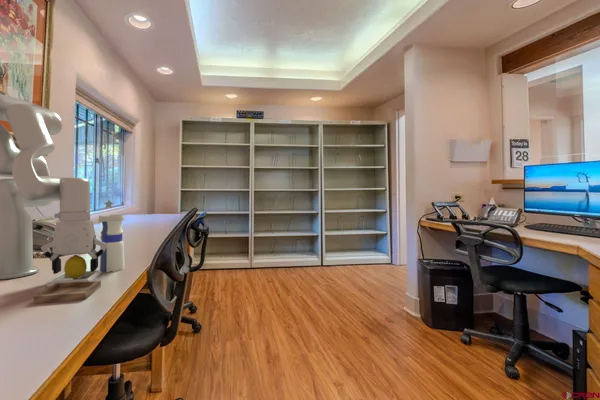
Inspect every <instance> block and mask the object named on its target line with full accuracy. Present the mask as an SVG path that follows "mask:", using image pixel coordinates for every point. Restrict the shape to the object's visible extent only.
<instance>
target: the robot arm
mask: <svg viewBox="0 0 600 400" xmlns="http://www.w3.org/2000/svg"><path fill="white" fill-rule="evenodd" d="M0 121H3V122H8V124H9V126H10V129H11V132H12V133H13V135H12V134H11V132H10V131H9V130H8V128H6V127H5V126H4V125H3V124H2V123H0V177H1V178H0V280H6V279H7V280H8V279H16V278H21V277H25V276H31V275H34V274H36V273H38V272H39V271H40V268H39V267H38V266H35V265H34V259H33V258H34V251H33V248H34V246H33V245H34V244H33V242H34V241H33V240H34V239H33V235H34V234H33V233H34V232H33V218H32V217H31V215H30V214H29V212H28V211H27V210H26V209H25V208H35V207H37V208H38V207H47V206H49V205H51V204H52V203H53V202H54V201H59V212H58V213H55V214H54V215H53V216H54V219H58V221H57V222H55V226H54V231H53V238H52V239H53V240H52V241H50V242H48V243H46V244H44V245H42V246H41V247H40V249H41V251H42V252H43V253H44V256H46V257H47V258H48V259H49V261H51V270H52V271H53V272H52V274H53V275H56V274H58V273H60V272H62V259H61V258H60V257H61V256H69V255H71V256H72V255H73V256H74V255H86V254H88V255H89V257H91V258H90V261H89V263H90V269H89V271H91V272H93V271H97V268H99V258H100V255H101V254H102V253H103V252H104V251H105V249H106V248H107V246H108V244H107V243H105V242H102V240H101V239H100V240H99V239H98V238H96V231H95V226H94V222H93V220H91V183H90V180H89V179H87V178H85V177H62V176H52V174H51V172H50V168H49V165H48V163H47V161H46V159H45V158H44V157H45V156H47V155H49V154H52V152H54V150H55V147H56V145H55V143H54V141H53V139H52V137H51V136H55V135H58V134H60V133H61V131H62V129H63V121H62V118H61V117H60V115H59V114H57V113H56V112H55V111H54V110H51V109H49V108H46V107H44V106H41V105H38V104H37V103H34V102H31V101H28V100H24V99H20V98H17V97H12V96H9V95H6V94H2V93H0ZM13 136H14V137H13ZM14 138H15V140H16V143H17V146H18V147H19V148H18V147H17V146H16V143H15V141H14ZM2 177H3V178H2ZM4 177H5V178H4ZM97 246H99V248H100V246H101V248H100V249H99V250H98V251H97V250H96V247H97ZM50 248H52V250H51V249H50Z"/></svg>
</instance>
